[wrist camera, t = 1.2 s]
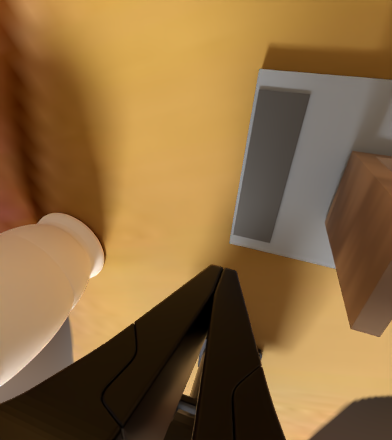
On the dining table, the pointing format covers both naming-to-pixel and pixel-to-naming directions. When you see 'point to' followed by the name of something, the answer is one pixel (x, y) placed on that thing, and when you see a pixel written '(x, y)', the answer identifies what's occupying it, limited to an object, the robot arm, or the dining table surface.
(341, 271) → the wooden block
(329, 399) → the dining table surface
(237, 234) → the bridge deck
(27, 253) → the jar
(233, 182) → the dining table surface
